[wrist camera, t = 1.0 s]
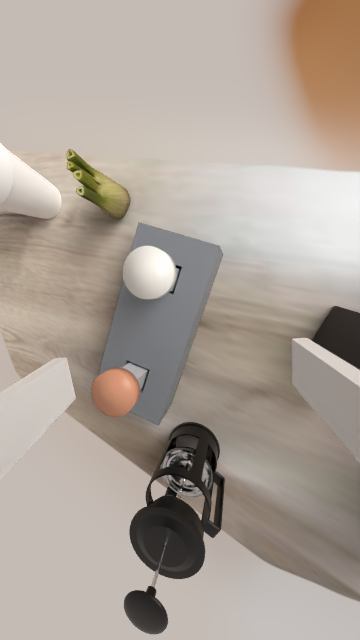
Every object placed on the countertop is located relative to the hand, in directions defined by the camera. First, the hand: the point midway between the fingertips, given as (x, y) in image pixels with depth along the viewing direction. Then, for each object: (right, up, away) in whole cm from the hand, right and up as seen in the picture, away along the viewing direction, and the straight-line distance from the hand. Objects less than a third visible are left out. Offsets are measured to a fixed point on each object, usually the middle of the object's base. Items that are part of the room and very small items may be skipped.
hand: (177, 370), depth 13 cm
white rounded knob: (-1, +9, +21) cm, 23 cm away
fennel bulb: (-10, +23, +27) cm, 37 cm away
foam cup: (-25, +25, +30) cm, 47 cm away
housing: (-3, +2, +27) cm, 27 cm away
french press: (+3, -21, +29) cm, 36 cm away
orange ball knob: (-6, -6, +24) cm, 25 cm away
